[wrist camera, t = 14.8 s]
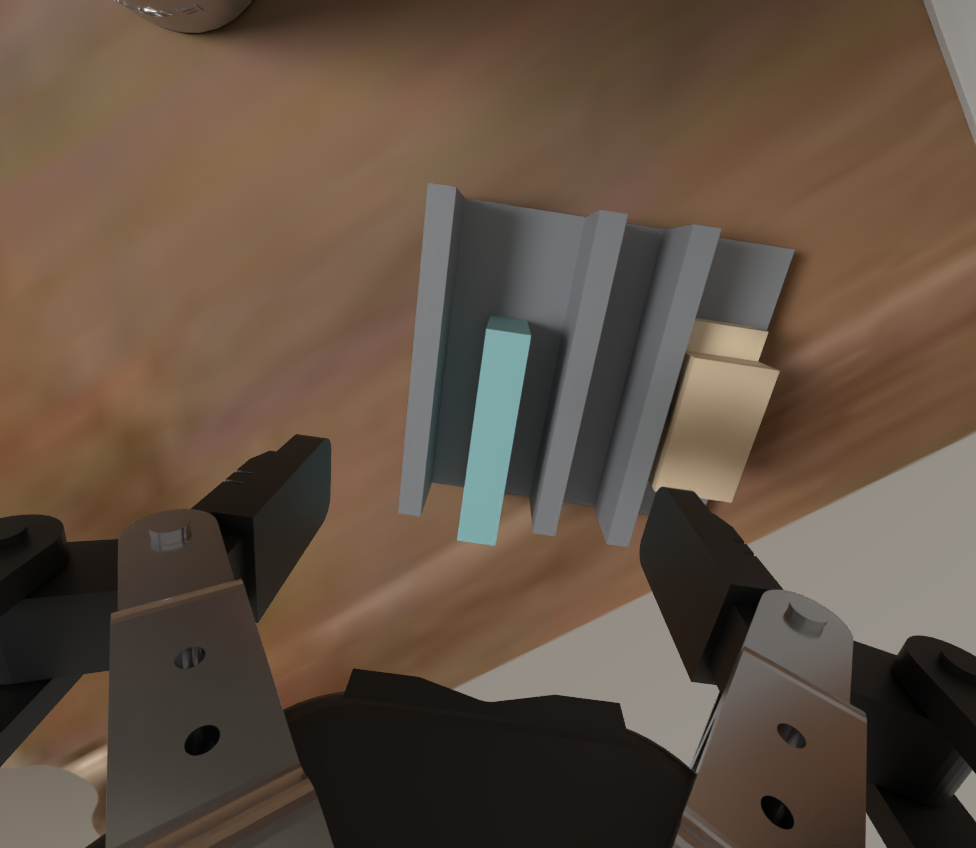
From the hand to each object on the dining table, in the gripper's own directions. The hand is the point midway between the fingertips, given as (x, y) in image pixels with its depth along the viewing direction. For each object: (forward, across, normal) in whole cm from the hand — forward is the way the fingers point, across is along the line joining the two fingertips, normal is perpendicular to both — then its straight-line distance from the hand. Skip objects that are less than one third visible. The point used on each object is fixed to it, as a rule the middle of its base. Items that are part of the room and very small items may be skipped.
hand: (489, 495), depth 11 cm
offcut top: (+13, -11, +1) cm, 17 cm away
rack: (+17, -5, 0) cm, 18 cm away
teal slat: (+13, 0, -2) cm, 13 cm away
